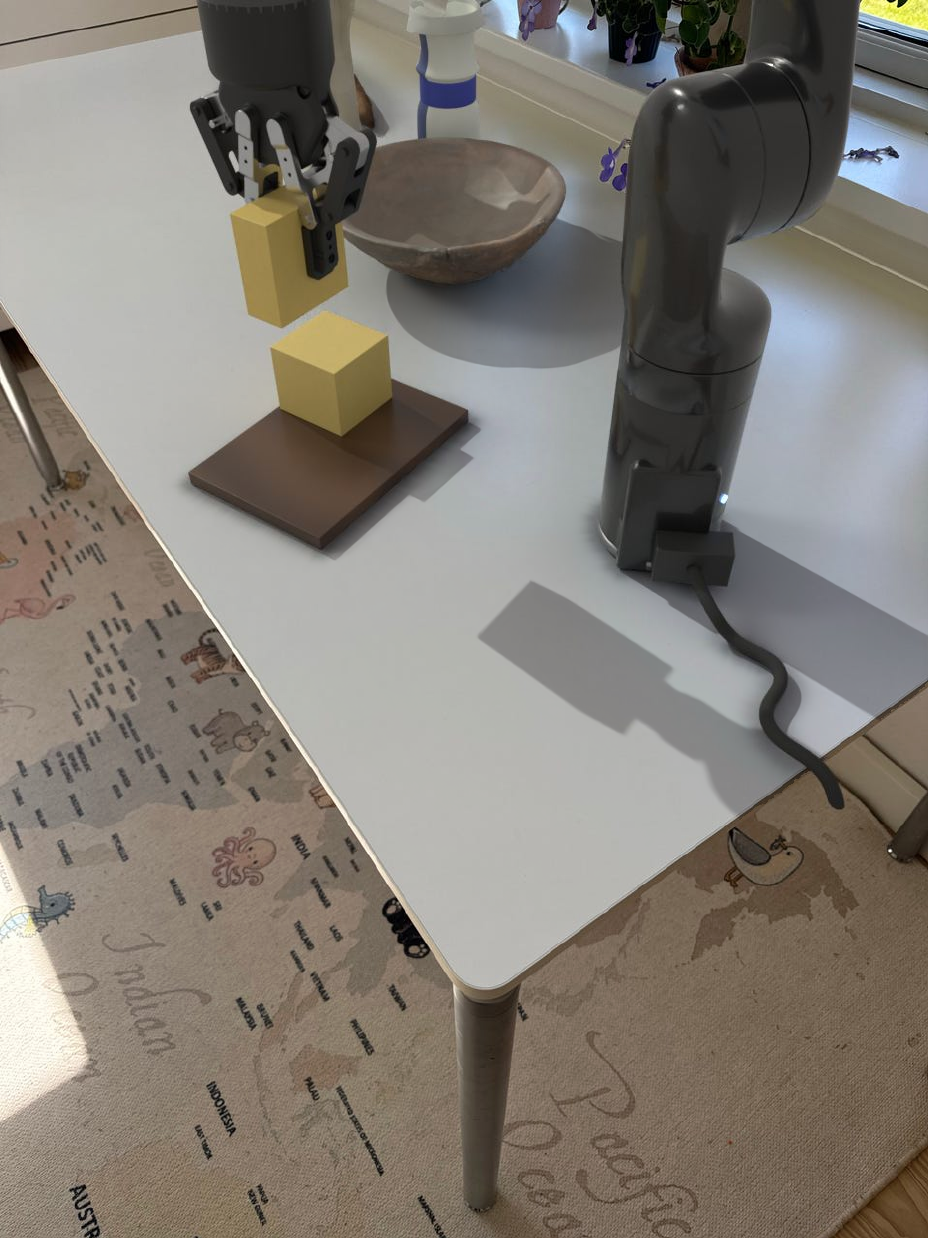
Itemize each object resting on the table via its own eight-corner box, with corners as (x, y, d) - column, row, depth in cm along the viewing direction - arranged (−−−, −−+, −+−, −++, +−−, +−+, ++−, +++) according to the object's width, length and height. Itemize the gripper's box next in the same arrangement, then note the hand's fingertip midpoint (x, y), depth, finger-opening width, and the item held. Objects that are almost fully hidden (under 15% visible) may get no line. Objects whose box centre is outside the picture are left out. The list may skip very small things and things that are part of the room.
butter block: (331, 371, 91) (324, 309, 87) (392, 397, 89) (388, 334, 84) (279, 408, 87) (269, 346, 83) (341, 436, 85) (334, 373, 80)
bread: (269, 44, 153) (264, 7, 149) (300, 40, 154) (296, 3, 151) (356, 137, 129) (353, 96, 126) (392, 130, 131) (390, 90, 127)
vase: (351, 168, 123) (326, -132, 101) (385, 194, 118) (367, -115, 96) (288, 185, 120) (247, -121, 98) (320, 213, 115) (286, -103, 93)
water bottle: (401, 180, 121) (389, -65, 102) (466, 168, 123) (466, -74, 105) (426, 209, 116) (418, -44, 97) (494, 195, 118) (499, -54, 100)
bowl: (496, 193, 118) (498, 118, 112) (605, 292, 103) (614, 210, 97) (295, 237, 111) (284, 158, 105) (379, 349, 96) (373, 265, 90)
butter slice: (315, 273, 73) (303, 174, 68) (348, 286, 72) (339, 186, 67) (247, 314, 69) (229, 212, 64) (281, 328, 68) (265, 226, 63)
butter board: (345, 369, 94) (344, 358, 93) (468, 420, 88) (468, 409, 87) (190, 483, 82) (187, 472, 82) (321, 550, 77) (319, 538, 76)
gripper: (401, -17, 56) (414, 271, 69) (215, -53, 62) (259, 220, 74) (315, 19, 52) (346, 320, 65) (124, -23, 57) (187, 262, 70)
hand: (299, 265), depth 69 cm, fingers closed on butter slice, 3 cm apart
